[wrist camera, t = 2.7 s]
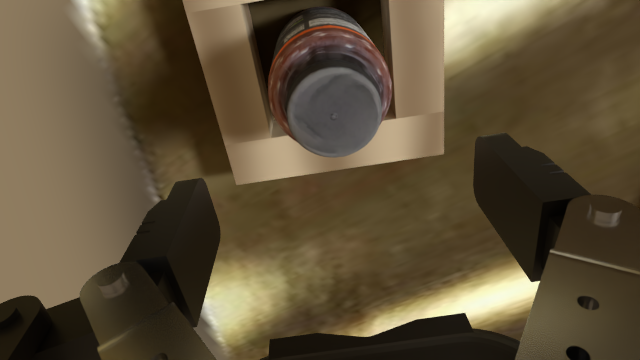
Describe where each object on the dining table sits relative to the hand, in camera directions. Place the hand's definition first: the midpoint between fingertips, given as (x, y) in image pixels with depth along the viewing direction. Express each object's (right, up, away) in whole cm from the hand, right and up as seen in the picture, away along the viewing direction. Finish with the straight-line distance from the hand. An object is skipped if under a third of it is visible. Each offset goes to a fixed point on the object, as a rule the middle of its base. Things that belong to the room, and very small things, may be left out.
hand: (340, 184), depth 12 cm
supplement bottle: (-1, +8, +15) cm, 17 cm away
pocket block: (-1, +8, +14) cm, 17 cm away
